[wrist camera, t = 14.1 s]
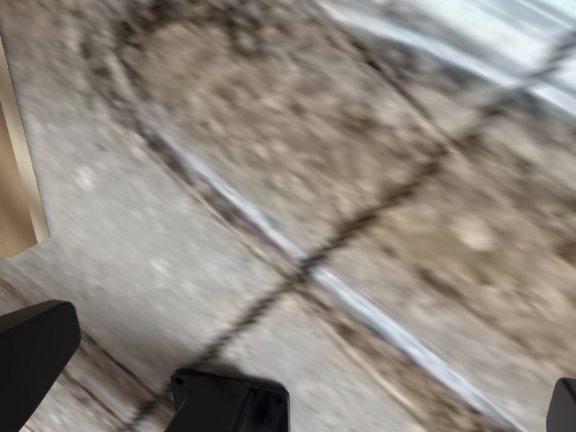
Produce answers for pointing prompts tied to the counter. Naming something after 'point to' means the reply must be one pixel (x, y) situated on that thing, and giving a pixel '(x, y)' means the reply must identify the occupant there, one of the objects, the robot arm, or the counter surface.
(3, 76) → the brown rectangular tray
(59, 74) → the counter surface
